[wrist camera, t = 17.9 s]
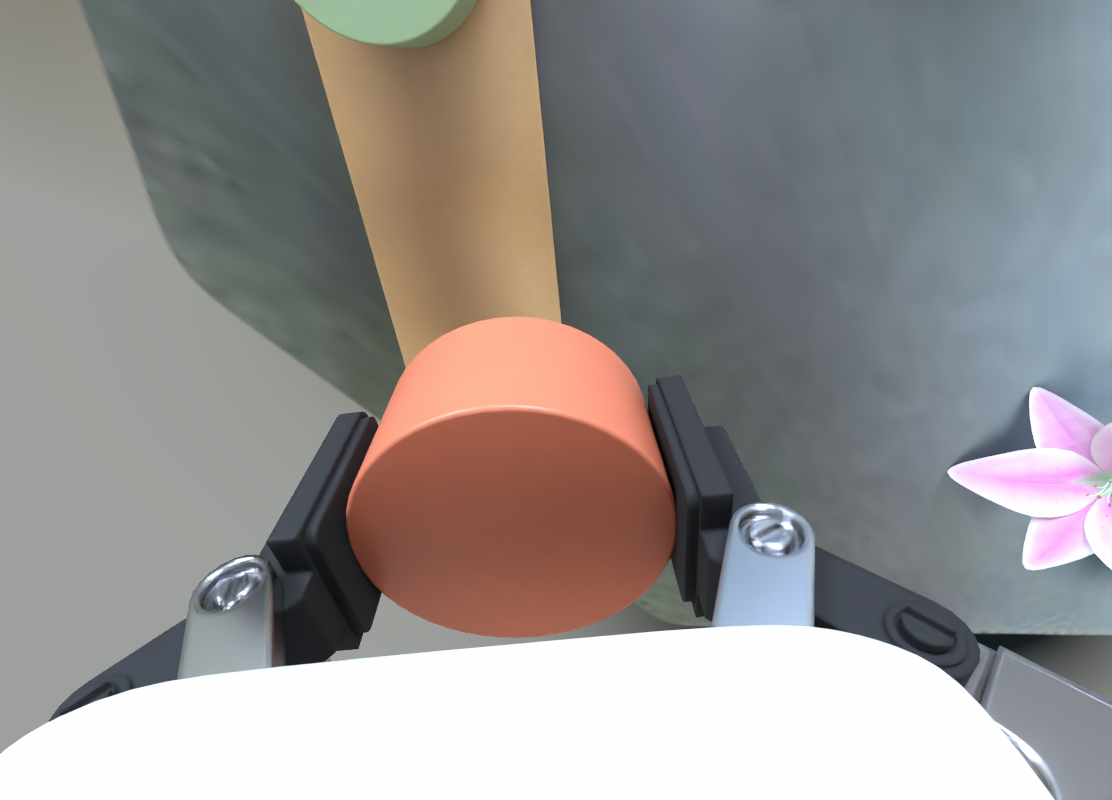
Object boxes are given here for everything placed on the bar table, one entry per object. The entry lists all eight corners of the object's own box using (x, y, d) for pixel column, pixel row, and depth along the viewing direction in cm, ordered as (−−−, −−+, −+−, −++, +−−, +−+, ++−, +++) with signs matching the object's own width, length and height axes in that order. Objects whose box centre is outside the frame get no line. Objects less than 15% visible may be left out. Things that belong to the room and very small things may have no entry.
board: (509, -221, 16) (506, -245, 15) (563, 345, 27) (564, 358, 26) (260, -189, 17) (237, -210, 15) (413, 360, 27) (407, 374, 26)
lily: (1148, 308, 28) (1243, 383, 21) (1274, 470, 29) (1409, 598, 22) (917, 409, 36) (928, 489, 29) (1020, 535, 37) (1056, 645, 29)
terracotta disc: (643, 298, 11) (682, 386, 8) (648, 509, 15) (677, 625, 12) (354, 333, 11) (288, 430, 8) (427, 532, 15) (399, 651, 12)
